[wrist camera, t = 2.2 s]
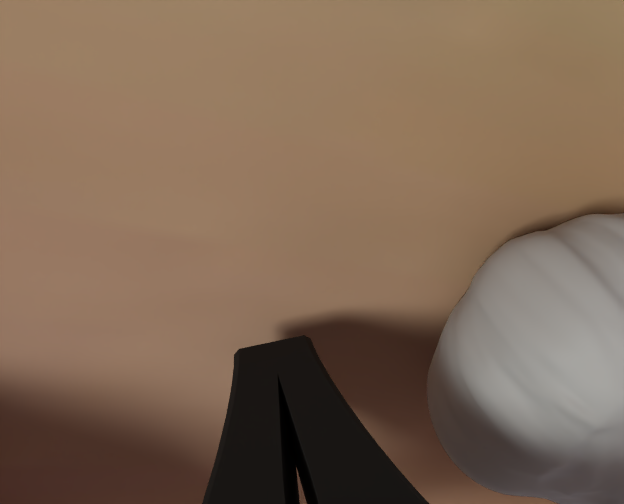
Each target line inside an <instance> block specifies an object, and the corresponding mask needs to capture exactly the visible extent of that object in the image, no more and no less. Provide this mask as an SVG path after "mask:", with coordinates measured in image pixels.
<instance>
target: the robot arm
mask: <svg viewBox="0 0 624 504" xmlns="http://www.w3.org/2000/svg"><path fill="white" fill-rule="evenodd" d="M296 467H297V470H298V474H299V477H300V481H301V484H302V488H303V491H304V495H305V498H306V502H307V504H429V503H428V502H427V501H426V500H425V499H424V498H423V497H422V496H421V494H420V493H419V492H418V491H417V490H416V489H415V488H414V487H413V486H412V484H411V483H410V482H409V481H408V480H407V479H406V478H405V476H404V475H403V474H402V473H401V472H400V471H399V470H398V468H397V467H396V466H395V465H394V464H393V462H392V461H391V460H390V459H389V457H388V456H387V455H386V454H385V453H384V451H383V450H382V449H381V448H380V447H379V445H378V444H377V443H376V441H375V440H374V439H373V438H372V436H371V435H370V434H369V432H368V431H367V430H366V428H365V427H364V426H363V424H362V423H361V422H360V420H359V419H358V417H357V416H356V415H355V413H354V412H353V411H352V409H351V408H350V406H349V405H348V404H347V402H346V401H345V399H344V398H343V396H342V395H341V393H340V392H339V390H338V389H337V387H336V386H335V384H334V382H333V381H332V379H331V378H330V376H329V374H328V373H327V371H326V369H325V368H324V366H323V364H322V362H321V360H320V358H319V357H318V355H317V353H316V351H315V348H314V346H313V344H312V341H311V339H310V338H308V337H306V336H304V335H303V336H298V337H294V338H289V339H284V340H280V341H275V342H270V343H265V344H261V345H256V346H251V347H246V348H242V349H239V350H238V351H237V352H236V353H235V354H234V370H233V379H232V387H231V393H230V399H229V404H228V409H227V414H226V419H225V423H224V427H223V431H222V436H221V440H220V444H219V448H218V452H217V456H216V460H215V463H214V467H213V470H212V473H211V477H210V480H209V483H208V486H207V490H206V493H205V496H204V500H203V503H202V504H300V502H299V492H298V482H297V472H296Z"/></svg>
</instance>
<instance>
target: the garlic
mask: <svg viewBox="0 0 624 504" xmlns="http://www.w3.org/2000/svg"><path fill="white" fill-rule="evenodd" d="M427 400H428V407H429V412H430V417H431V420H432V424H433V427H434V429H435V432H436V434H437V437H438V439H439V441H440V443H441V445H442V446H443V448H444V450H445V451H446V453H447V454H448V456H449V457H450V458H451V460H452V461H453V462H454V463H455V464H456V465H457V467H458V468H459V469H460V470H461V471H462V472H464V473H465V474H466V475H467V476H468V477H470V478H471V479H472V480H474V481H475V482H477V483H478V484H480V485H482V486H484V487H486V488H488V489H490V490H493V491H495V492H498V493H502V494H507V495H514V496H527V497H538V498H545V499H548V500H550V501H553V502H556V503H559V504H624V213H621V214H589V215H584V216H581V217H578V218H575V219H572V220H569V221H567V222H565V223H562V224H560V225H558V226H556V227H553V228H551V229H548V230H546V231H536V232H533V233H529V234H526V235H523V236H520V237H517V238H514V239H511V240H509V241H507V242H506V243H505V244H503V245H502V246H501V247H500V248H499V249H498V250H497V251H495V252H494V253H493V254H492V255H491V256H490V257H489V258H488V259H487V260H486V261H485V263H484V264H483V265H482V266H481V267H480V269H479V270H478V271H477V273H476V274H475V276H474V277H473V279H472V282H471V285H470V287H469V288H468V290H467V292H466V293H465V295H464V296H463V297H462V298H461V300H460V301H459V302H458V303H457V304H456V306H455V307H454V309H453V310H452V312H451V314H450V316H449V318H448V320H447V322H446V325H445V327H444V329H443V331H442V333H441V336H440V339H439V342H438V345H437V348H436V350H435V353H434V356H433V358H432V361H431V364H430V367H429V371H428V377H427Z"/></svg>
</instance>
